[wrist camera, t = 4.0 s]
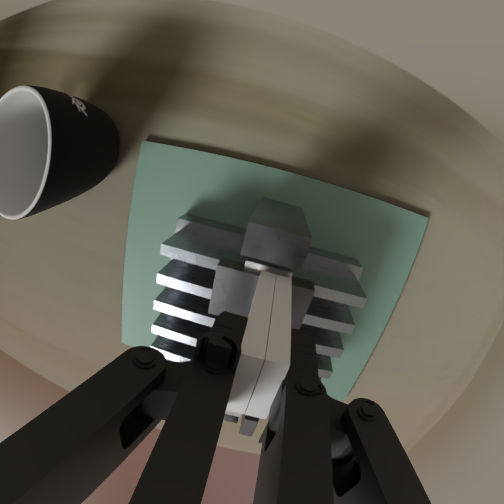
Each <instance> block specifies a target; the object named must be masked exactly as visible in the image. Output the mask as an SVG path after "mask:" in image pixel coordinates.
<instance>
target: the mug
mask: <svg viewBox="0 0 504 504" xmlns="http://www.w3.org/2000/svg"><path fill="white" fill-rule="evenodd" d="M118 152H119V136H118V132H117V129H116V126H115V124H114V122H113V121H112V119H111V118H110V117H109V116H108V115H107V114H106V113H105V112H104V111H102V110H101V109H99V108H98V107H96V106H94V105H92V104H91V103H89V102H86V101H84V100H82V99H79V98H77V97H74V96H71V95H68V94H65V93H62V92H59V91H55V90H52V89H48V88H43V87H38V86H30V85H23V86H17V87H15V88H13V89H11V90H10V91H8V92H7V93H6V94H5V95H3V96H2V98H1V99H0V215H1V216H3V217H4V218H7V219H11V220H15V219H21V218H25V217H28V216H31V215H34V214H37V213H39V212H42V211H44V210H47V209H49V208H52V207H54V206H56V205H59V204H61V203H63V202H66V201H68V200H70V199H72V198H74V197H77V196H79V195H80V194H82V193H84V192H86V191H88V190H90V189H91V188H93V187H94V186H96V185H97V184H99V183H100V182H101V181H102V180H103V179H104V178H105V177H106V176H107V175H108V174H109V173H110V171H111V170H112V168H113V166H114V164H115V162H116V159H117V156H118Z"/></svg>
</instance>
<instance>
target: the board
mask: <svg viewBox="0 0 504 504" xmlns="http://www.w3.org/2000/svg"><path fill="white" fill-rule="evenodd" d="M262 197H265V198H269V199H273V200H276V201H280V202H284V203H288V204H291V205H295V206H298V207H301V208H302V210H303V213H304V216H305V219H306V222H307V224H308V227H309V230H310V233H311V236H312V242H311V245H310V246H312V247H315V248H319V249H323V250H326V251H330V252H333V253H337V254H340V255H344V256H348V257H351V258H355V259H358V261H359V262H360V264H361V265H362V267H363V271H362V273H361V276H360V279H359V281H358V282H359V284H360V286H361V287H362V289H363V291H364V293H365V295H366V297H367V298H368V299H367V301H366V304H365V306H364V308H359V307H355V306H351V305H349V306H348V307H349V309H350V312H351V315H352V317H353V320H354V322H355V325H356V326H355V328H354V331H353V333H352V335H351V334H347V333H342V332H339V333H340V337H341V340H342V344H343V348H344V351H343V353H342V355H341V357H340V358H337V357H332V356H330V358H331V364H332V369H333V373H332V375H331V377H330V378H329V379H327V378H322V377H321V382H322V384H323V385H324V386H325V388H326V391H327V395H329V396H330V397H332V398H333V399H335V400H340V401H344V400H345V398H346V396H347V395H348V393H349V392H350V390H351V388H352V387H353V385H354V383H355V382H356V380H357V378H358V376H359V375H360V373H361V371H362V369H363V368H364V366H365V364H366V362H367V361H368V359H369V357H370V355H371V353H372V351H373V349H374V348H375V346H376V344H377V342H378V340H379V338H380V336H381V334H382V332H383V330H384V328H385V326H386V324H387V322H388V320H389V318H390V316H391V313H392V311H393V309H394V307H395V305H396V303H397V300H398V298H399V296H400V294H401V291H402V289H403V287H404V284H405V282H406V280H407V277H408V275H409V272H410V270H411V267H412V265H413V262H414V260H415V257H416V254H417V252H418V249H419V246H420V243H421V241H422V238H423V235H424V232H425V229H426V226H427V223H428V220H429V218H427V217H425V216H422V215H419V214H417V213H414V212H412V211H409V210H406V209H404V208H401V207H398V206H395V205H393V204H390V203H387V202H384V201H381V200H379V199H376V198H373V197H370V196H367V195H364V194H361V193H358V192H355V191H352V190H349V189H346V188H342V187H339V186H336V185H333V184H330V183H326V182H323V181H320V180H316V179H313V178H309V177H306V176H302V175H299V174H295V173H291V172H288V171H284V170H280V169H277V168H273V167H269V166H265V165H261V164H257V163H253V162H249V161H244V160H240V159H236V158H231V157H227V156H222V155H218V154H213V153H208V152H204V151H199V150H194V149H188V148H183V147H178V146H172V145H167V144H161V143H155V142H149V141H142V142H141V147H140V152H139V158H138V163H137V169H136V174H135V180H134V187H133V193H132V200H131V207H130V215H129V223H128V232H127V241H126V252H125V264H124V279H123V300H122V343H124V344H127V345H129V346H132V347H136V346H149V347H150V346H151V345H152V343H153V342H154V340H155V339H156V337H157V336H158V334H155V333H152V324H153V323H154V321H155V320H156V319H157V317H158V316H159V315H160V313H161V311H158V310H155V309H153V308H154V300H155V299H156V298H157V297H158V295H159V294H160V293H161V292H162V291H163V290H164V288H165V287H166V286H164V285H161V284H158V283H156V280H157V273H158V272H159V271H160V270H161V269H162V268H163V267H164V266H165V265H166V264H168V263H169V262H170V261H171V257H167V256H164V255H160V248H161V243H163V242H164V241H166V240H167V239H168V238H170V237H171V236H172V235H174V234H175V229H176V224H177V218H179V217H181V216H182V215H184V214H186V213H187V214H191V215H195V216H199V217H203V218H207V219H210V220H214V221H218V222H222V223H226V224H230V225H234V226H237V227H241V228H245V229H247V225H248V221H249V219H250V218H251V216H252V214H253V212H254V211H255V209H256V207H257V205H258V204H259V202H260V200H261V198H262Z"/></svg>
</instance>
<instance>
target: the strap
mask: <svg viewBox="0 0 504 504" xmlns="http://www.w3.org/2000/svg"><path fill="white" fill-rule="evenodd" d="M261 270H262V271H266V272H269V273H273V274H276V275H280V276H284V277H288V278H292V298H291V328H294V329H300V327H301V325H302V322H303V320H304V317H305V315H306V312H307V310H308V307H309V305H310V302H311V300H312V297H313V295H314V292H315V287H314V281H310V280H306V279H302V278H299V277H295V276H292V274H293V269H292V268H289V267H285V266H281V265H277V264H274V263H270V262H266V261H262V260H259V259H255V258H251V257H247V259H246V262H245V263H242V262H239V261H235V260H231V259H227V258H224V257H221V259H220V261H219V263H218V264H217V269H216V274H215V279H214V284H213V289H212V294H211V299H210V304H209V309H208V313H210V314H213V315H217V316H218V315H219V314H221V313H222V312H224V311H227V312H230V313H234V314H237V315H241V316H244V317H248V316H249V312H250V309H251V305H252V302H253V298H254V294H255V291H256V287H257V283H258V280H259V276H260V273H261ZM240 417H241V414H240V413H236V412H232V411H228V410H226V411H225V415H224V419H223V420H226V421H230V422H234V423H237V421H238V420H239V419H240Z"/></svg>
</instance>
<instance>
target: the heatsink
mask: <svg viewBox="0 0 504 504" xmlns="http://www.w3.org/2000/svg"><path fill="white" fill-rule="evenodd" d="M311 242H312V236H311V233H310V230H309V227H308V224H307V222H306V219H305V216H304V213H303V210H302V208H301V207H298V206H295V205H291V204H288V203H284V202H280V201H276V200H273V199H269V198H265V197H262V198H261V200H260V202H259V204H258V205H257V207H256V209H255V211H254V212H253V214H252V216H251V218H250V219H249V221H248V225H247V229H245V228H241V227H237V226H234V225H230V224H226V223H222V222H218V221H214V220H210V219H207V218H203V217H199V216H195V215H191V214H187V213H186V214H184V215H182V216H181V217H179V218H177V224H176V229H175V234H174V235H172V236H171V237H170V238H168V239H167V240H166V241H164V242H163V243H161V248H160V255H164V256H167V257H171V261H170V262H169V263H168V264H166V265H165V266H164V267H163V268H162V269H161V270H160V271H159V272H158V273H157V280H156V283H158V284H161V285H164V286H166V287H165V288H164V290H163V291H162V292H161V293H160V294H159V295H158V297H157V298H156V299H155V300H154V308H153V309H155V310H158V311H161V313H160V315H159V316H158V317H157V319H156V320H155V321H154V323H153V324H152V333H155V334H158V336H157V337H156V339H155V340H154V342H153V343H152V345H151V346H150V347H152V348H155V349H157V350H159V351H160V352H161V353H162V354H163V355H164V357H165V358H166V361H172V362H186V361H190V360H193V359H194V354H195V348H196V342H197V339H198V338H199V336H200V335H202V334H205V333H207V332H210V331H211V328H212V326H213V324H214V321H215V319H216V317H217V315H213V314H210V313H208V309H209V304H210V299H211V294H212V289H213V284H214V279H215V274H216V269H217V264H218V263H219V261H220V259H221V257H224V258H227V259H231V260H235V261H239V262H242V263H245V262H246V259H247V257H251V258H255V259H259V260H262V261H266V262H270V263H274V264H277V265H281V266H285V267H289V268H292V269H293V274H292V276H295V277H299V278H302V279H306V280H310V281H314V287H315V292H314V295H313V297H312V300H311V302H310V305H309V307H308V310H307V312H306V315H305V317H304V320H303V322H302V325H301V327H300V329H299V330H303V331H307V332H310V333H311V335H312V336H313V338H314V339H315V343H316V353H317V356H316V357H317V364H318V376H319V381H321V377H322V378H327V379H329V378H330V377H331V375H332V373H333V369H332V364H331V358H330V356H332V357H337V358H340V357H341V355H342V353H343V351H344V348H343V344H342V340H341V337H340V333H339V332H342V333H347V334H351V335H352V333H353V331H354V328H355V326H356V325H355V322H354V320H353V317H352V315H351V312H350V309H349V307H348V306H349V305H351V306H355V307H359V308H364V306H365V304H366V301H367V299H368V298H367V297H366V295H365V293H364V291H363V289H362V287H361V286H360V284H359V282H358V281H359V279H360V276H361V273H362V271H363V267H362V265H361V264H360V262H359V261H358V259H355V258H351V257H348V256H344V255H340V254H337V253H333V252H330V251H326V250H323V249H319V248H315V247H312V246H310V245H311ZM258 420H259V418H257V417H253V416H248V415H245V414H243V415H242V420H241V426H240V431H239V434H243V435H248V436H252V435H253V432H254V430H255V428H256V426H257V424H258Z"/></svg>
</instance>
